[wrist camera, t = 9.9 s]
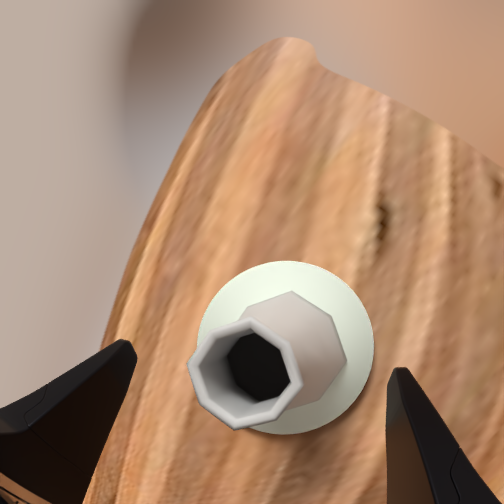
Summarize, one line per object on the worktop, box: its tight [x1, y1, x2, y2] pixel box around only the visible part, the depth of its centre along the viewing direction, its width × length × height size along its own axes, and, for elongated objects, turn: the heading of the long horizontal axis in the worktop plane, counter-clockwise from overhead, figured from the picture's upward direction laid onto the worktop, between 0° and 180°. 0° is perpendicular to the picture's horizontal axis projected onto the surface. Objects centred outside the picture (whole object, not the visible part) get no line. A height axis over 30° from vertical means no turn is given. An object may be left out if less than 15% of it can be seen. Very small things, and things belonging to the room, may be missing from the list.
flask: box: [187, 291, 347, 430], centre depth 12 cm, size 7×7×10 cm
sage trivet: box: [197, 261, 374, 435], centre depth 17 cm, size 11×11×1 cm
